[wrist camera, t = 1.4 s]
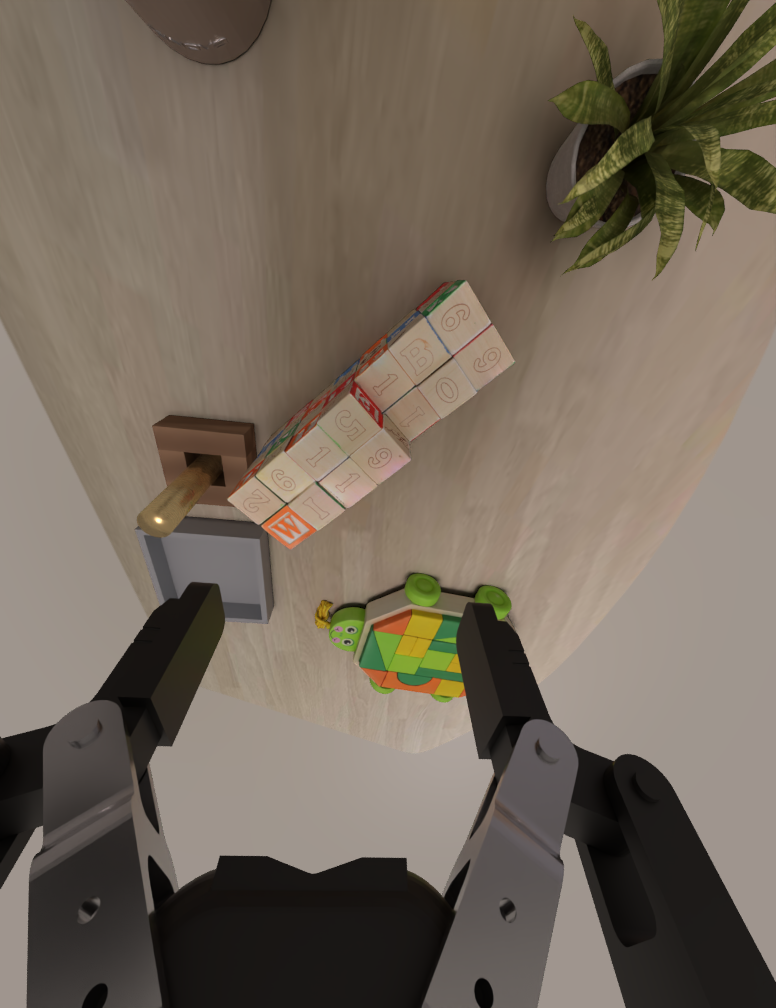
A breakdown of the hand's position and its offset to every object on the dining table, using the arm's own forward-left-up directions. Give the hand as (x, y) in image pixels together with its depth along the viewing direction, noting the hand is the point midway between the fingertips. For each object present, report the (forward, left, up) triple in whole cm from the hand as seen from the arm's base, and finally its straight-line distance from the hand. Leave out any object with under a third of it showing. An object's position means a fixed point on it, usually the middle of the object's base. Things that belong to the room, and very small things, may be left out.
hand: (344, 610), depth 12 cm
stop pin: (+8, -15, -26) cm, 31 cm away
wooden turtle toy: (+33, +9, -26) cm, 43 cm away
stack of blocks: (0, 0, -26) cm, 26 cm away
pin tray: (+23, -17, -26) cm, 39 cm away
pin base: (+8, -15, -26) cm, 31 cm away
